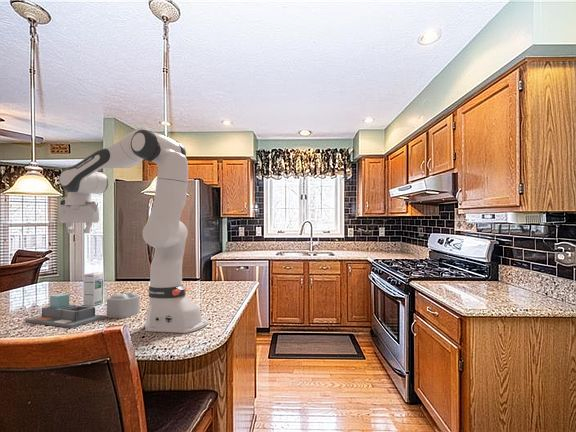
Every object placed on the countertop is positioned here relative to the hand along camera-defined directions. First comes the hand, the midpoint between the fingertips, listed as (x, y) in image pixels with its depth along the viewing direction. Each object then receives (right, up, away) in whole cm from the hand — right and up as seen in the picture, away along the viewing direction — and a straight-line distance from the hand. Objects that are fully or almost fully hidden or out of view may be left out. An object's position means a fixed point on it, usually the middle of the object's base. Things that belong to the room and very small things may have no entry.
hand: (78, 233), depth 150 cm
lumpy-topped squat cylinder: (+24, -33, -8) cm, 42 cm away
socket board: (+7, -32, -19) cm, 38 cm away
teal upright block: (+2, -32, -16) cm, 35 cm away
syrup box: (+1, -34, +9) cm, 35 cm away
